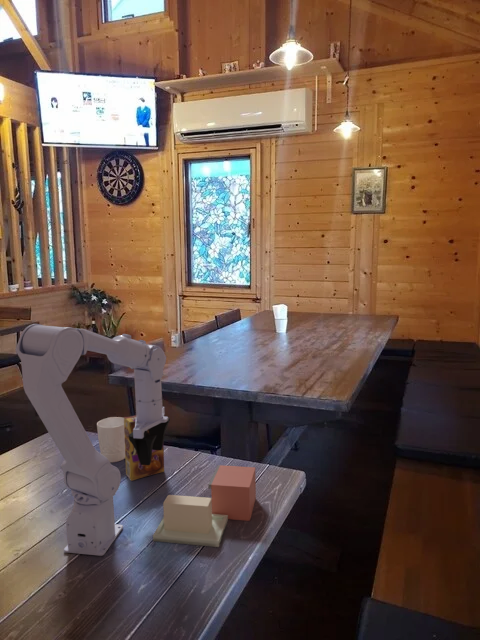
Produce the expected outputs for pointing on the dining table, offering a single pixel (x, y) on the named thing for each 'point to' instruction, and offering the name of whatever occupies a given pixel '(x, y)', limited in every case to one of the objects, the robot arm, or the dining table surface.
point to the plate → (194, 534)
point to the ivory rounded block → (187, 514)
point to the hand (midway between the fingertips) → (151, 456)
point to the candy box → (132, 462)
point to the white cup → (112, 438)
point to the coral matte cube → (233, 491)
